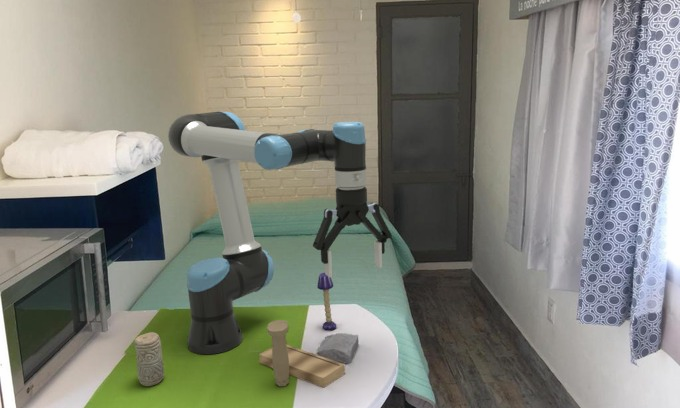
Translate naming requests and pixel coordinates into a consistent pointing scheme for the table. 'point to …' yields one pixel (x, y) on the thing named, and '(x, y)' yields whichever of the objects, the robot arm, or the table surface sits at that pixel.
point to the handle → (279, 351)
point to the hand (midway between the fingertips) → (354, 271)
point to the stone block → (339, 347)
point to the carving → (149, 359)
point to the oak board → (308, 366)
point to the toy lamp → (326, 300)
